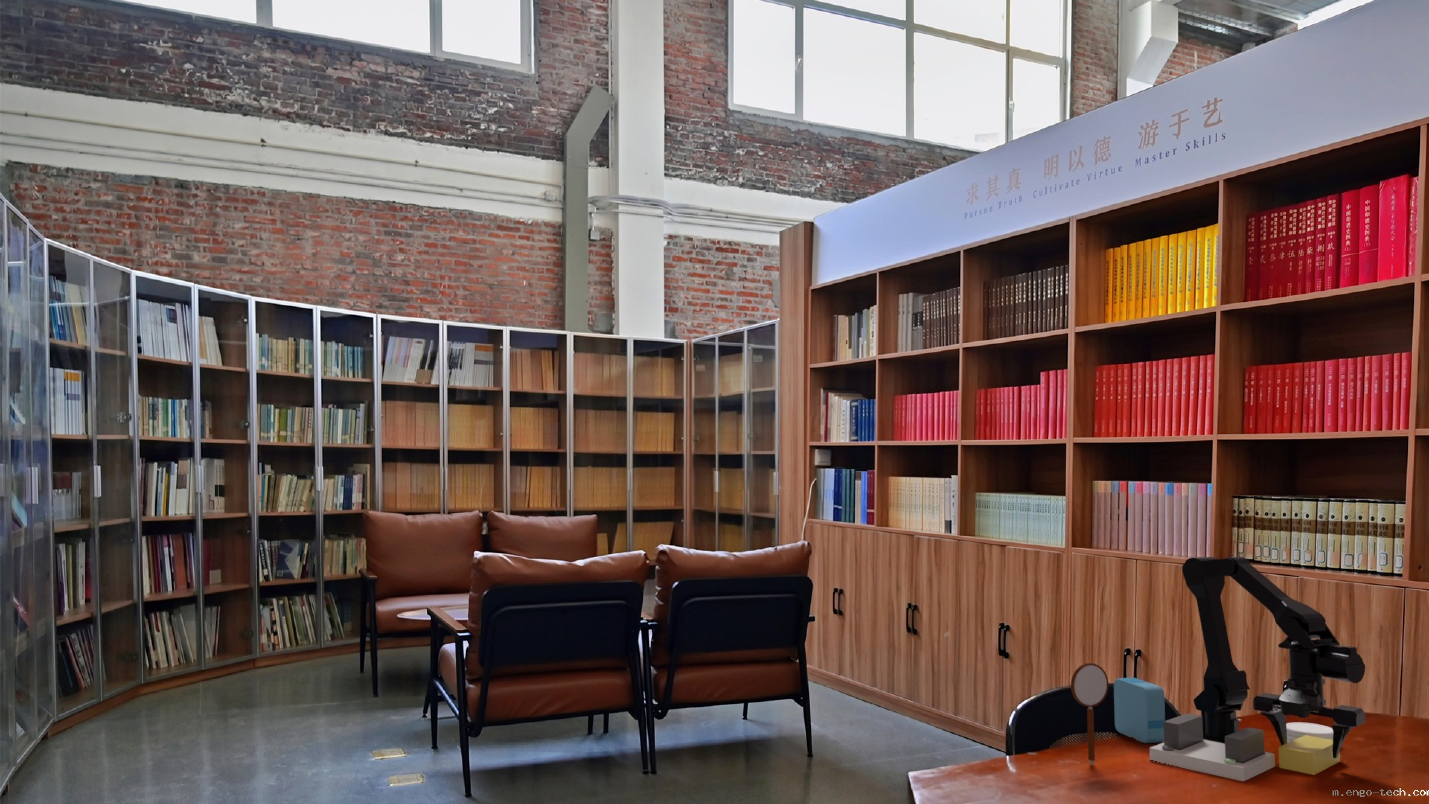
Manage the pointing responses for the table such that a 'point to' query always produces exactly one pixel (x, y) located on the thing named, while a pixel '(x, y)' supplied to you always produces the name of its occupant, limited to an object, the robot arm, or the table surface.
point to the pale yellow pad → (1307, 755)
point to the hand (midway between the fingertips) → (1309, 753)
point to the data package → (1139, 709)
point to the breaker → (1183, 731)
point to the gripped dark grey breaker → (1244, 745)
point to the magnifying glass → (1089, 695)
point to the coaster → (1307, 731)
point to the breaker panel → (1211, 760)
